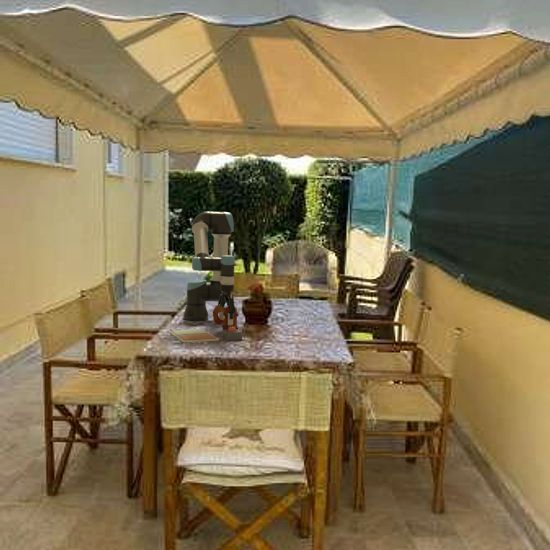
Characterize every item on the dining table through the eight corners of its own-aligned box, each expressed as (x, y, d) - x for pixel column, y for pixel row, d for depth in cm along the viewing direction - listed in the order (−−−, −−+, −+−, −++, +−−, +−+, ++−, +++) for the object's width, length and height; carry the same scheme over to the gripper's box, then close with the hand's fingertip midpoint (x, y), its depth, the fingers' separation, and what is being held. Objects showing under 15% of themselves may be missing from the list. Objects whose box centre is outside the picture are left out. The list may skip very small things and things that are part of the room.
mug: (240, 332, 347) (241, 305, 346) (235, 335, 339) (236, 307, 338) (215, 330, 351) (216, 303, 349) (210, 333, 343) (210, 305, 342)
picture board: (169, 332, 340) (169, 330, 340) (201, 330, 348) (201, 328, 348) (183, 342, 317) (183, 340, 317) (218, 340, 325) (218, 338, 325)
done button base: (221, 337, 334) (221, 329, 333) (235, 336, 337) (236, 329, 337) (227, 340, 327) (227, 332, 326) (241, 339, 330) (241, 331, 330)
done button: (227, 333, 332) (227, 326, 332) (233, 332, 334) (233, 326, 334) (229, 334, 329) (230, 327, 329) (236, 334, 331) (236, 327, 330)
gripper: (212, 281, 352) (211, 319, 354) (229, 286, 330) (227, 327, 332) (225, 281, 355) (223, 318, 357) (242, 286, 333) (241, 326, 335)
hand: (225, 322), depth 344 cm, fingers open, 13 cm apart
